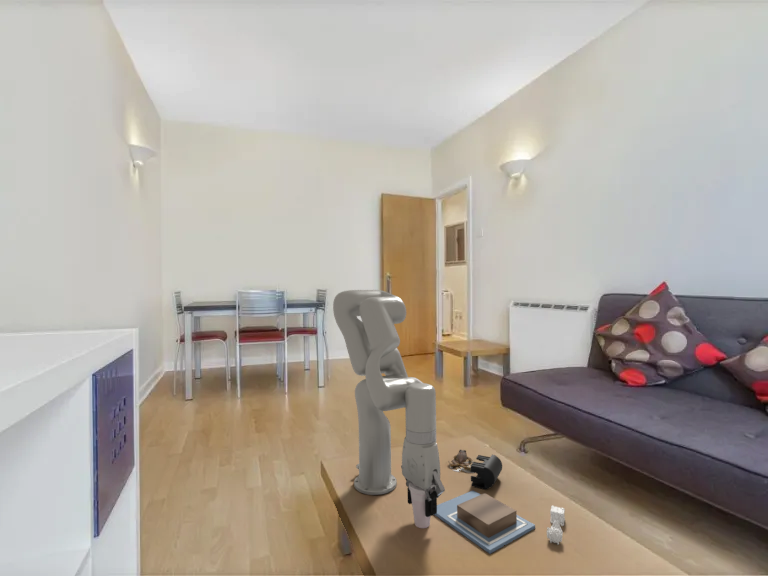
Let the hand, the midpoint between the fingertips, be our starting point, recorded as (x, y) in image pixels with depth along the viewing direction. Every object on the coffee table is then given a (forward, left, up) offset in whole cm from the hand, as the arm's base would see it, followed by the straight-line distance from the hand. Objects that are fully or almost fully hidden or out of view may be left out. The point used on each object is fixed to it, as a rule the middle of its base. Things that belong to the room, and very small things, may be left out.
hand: (422, 507), depth 96 cm
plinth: (+9, +13, -4) cm, 16 cm away
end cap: (-5, +29, -4) cm, 30 cm away
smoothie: (0, 0, -4) cm, 4 cm away
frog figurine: (-18, +32, -5) cm, 37 cm away
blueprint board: (+7, +13, -4) cm, 15 cm away
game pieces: (+20, +24, -4) cm, 32 cm away
